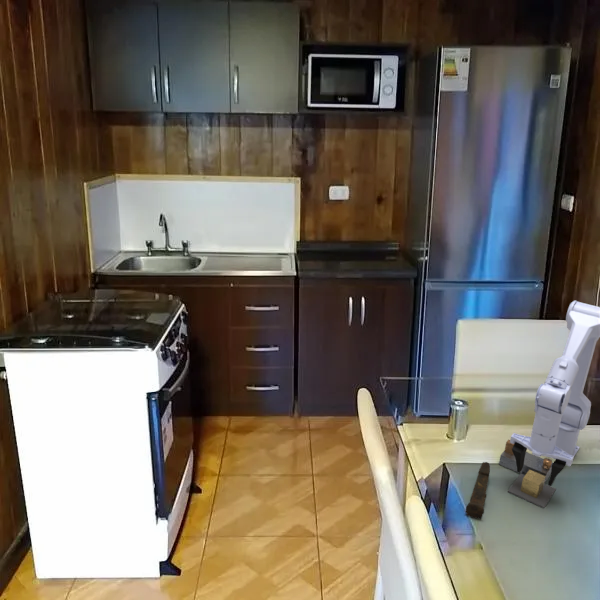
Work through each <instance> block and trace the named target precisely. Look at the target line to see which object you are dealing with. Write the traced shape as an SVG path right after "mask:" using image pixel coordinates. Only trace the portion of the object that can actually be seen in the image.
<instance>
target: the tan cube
mask: <svg viewBox="0 0 600 600" xmlns="http://www.w3.org/2000/svg"><path fill="white" fill-rule="evenodd" d="M545 477H546V476H544V475H541V474H539V473H537V472H534V471H532V470H529V471H528V472H527V474H526V475H525V476H524V478H523V482H522V486H521V492H524V493H526V494H528V495H530V496H533V497H535V498H537V497H538V495H539V494H540V493H541V491H542V490H543V486H544V481H545Z"/></svg>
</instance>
